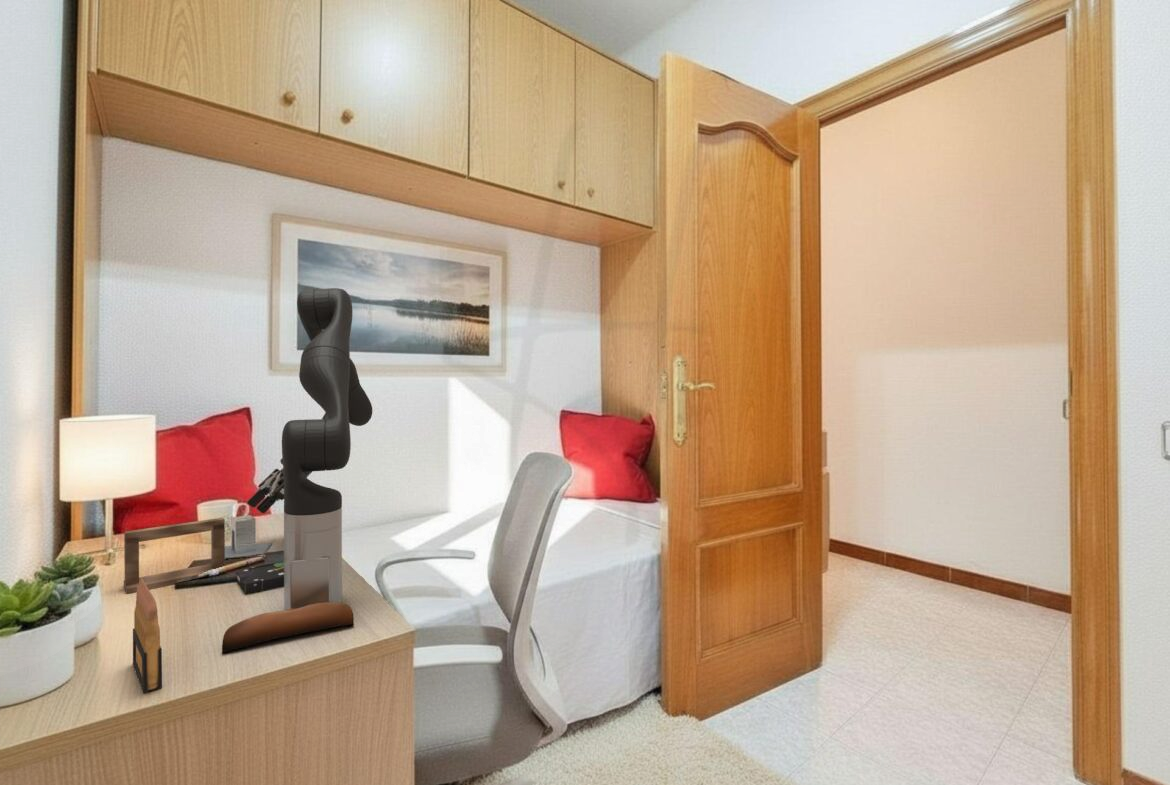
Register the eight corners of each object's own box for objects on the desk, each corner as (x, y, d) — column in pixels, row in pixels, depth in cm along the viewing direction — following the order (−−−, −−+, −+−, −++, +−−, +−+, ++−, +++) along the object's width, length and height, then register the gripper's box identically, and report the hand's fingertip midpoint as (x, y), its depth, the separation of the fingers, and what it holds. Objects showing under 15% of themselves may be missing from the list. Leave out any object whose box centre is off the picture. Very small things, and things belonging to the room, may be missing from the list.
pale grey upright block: (250, 545, 130) (250, 515, 129) (255, 550, 126) (255, 518, 126) (230, 549, 127) (230, 517, 127) (235, 554, 123) (235, 521, 123)
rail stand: (220, 566, 116) (220, 516, 116) (226, 573, 112) (226, 520, 112) (123, 585, 105) (123, 529, 105) (126, 593, 101) (126, 535, 100)
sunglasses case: (347, 607, 94) (350, 581, 91) (352, 642, 89) (355, 615, 86) (224, 632, 85) (222, 603, 82) (222, 672, 80) (220, 643, 77)
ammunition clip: (162, 688, 69) (161, 596, 69) (143, 694, 68) (143, 600, 68) (149, 659, 77) (149, 575, 76) (132, 664, 75) (132, 579, 75)
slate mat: (262, 556, 123) (262, 554, 123) (211, 561, 120) (211, 558, 120) (272, 544, 132) (272, 542, 132) (225, 548, 129) (225, 546, 129)
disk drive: (245, 598, 100) (329, 579, 110) (245, 584, 100) (329, 565, 110) (235, 583, 108) (314, 566, 118) (235, 570, 108) (314, 553, 118)
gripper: (285, 444, 139) (234, 494, 131) (304, 448, 129) (249, 503, 121) (307, 462, 143) (259, 512, 134) (327, 468, 132) (275, 522, 124)
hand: (254, 508), depth 128 cm, fingers open, 8 cm apart
